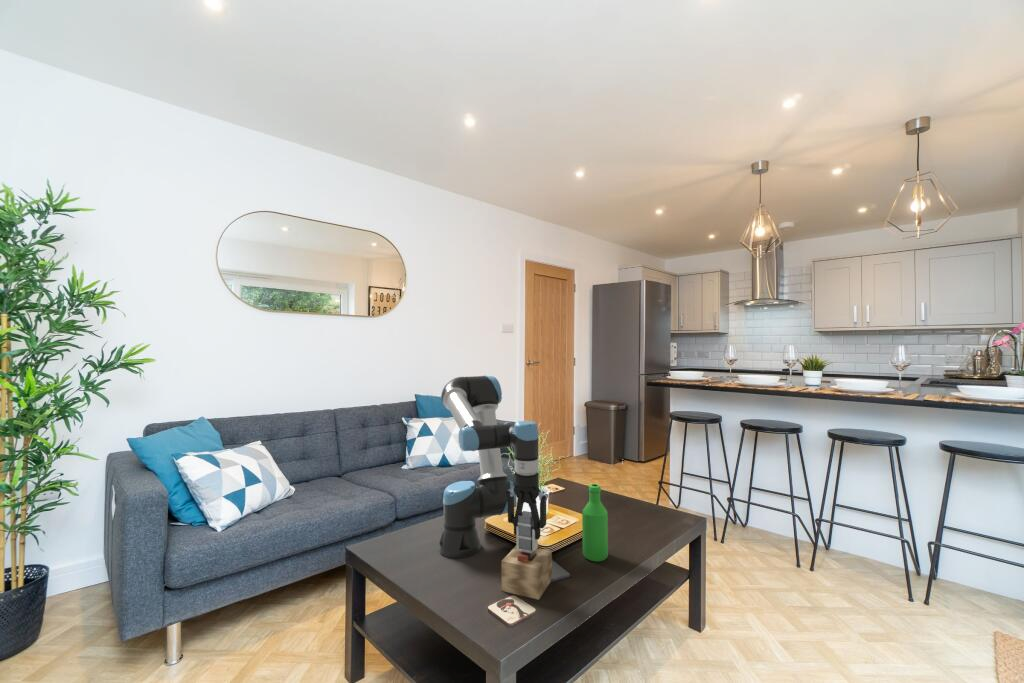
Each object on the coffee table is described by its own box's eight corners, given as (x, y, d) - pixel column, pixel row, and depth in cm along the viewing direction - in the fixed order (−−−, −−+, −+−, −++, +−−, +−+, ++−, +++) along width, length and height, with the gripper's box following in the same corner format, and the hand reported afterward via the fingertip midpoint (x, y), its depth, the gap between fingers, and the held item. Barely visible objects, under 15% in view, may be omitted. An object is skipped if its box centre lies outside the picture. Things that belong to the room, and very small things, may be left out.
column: (518, 587, 136) (517, 515, 136) (523, 580, 140) (523, 510, 140) (531, 590, 134) (530, 517, 134) (536, 583, 138) (536, 512, 138)
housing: (501, 590, 134) (501, 555, 134) (517, 572, 145) (517, 539, 145) (538, 599, 129) (538, 563, 129) (552, 579, 140) (551, 546, 140)
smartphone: (547, 555, 155) (571, 574, 142) (547, 558, 155) (571, 577, 142) (528, 560, 152) (551, 580, 138) (528, 563, 152) (551, 583, 138)
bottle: (608, 563, 150) (607, 490, 150) (582, 561, 151) (581, 488, 152) (607, 551, 158) (607, 482, 158) (583, 549, 160) (582, 480, 160)
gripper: (495, 472, 137) (496, 547, 137) (549, 478, 130) (549, 558, 130) (505, 466, 144) (506, 537, 144) (557, 472, 137) (557, 547, 137)
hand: (527, 547), depth 137 cm, fingers open, 4 cm apart
